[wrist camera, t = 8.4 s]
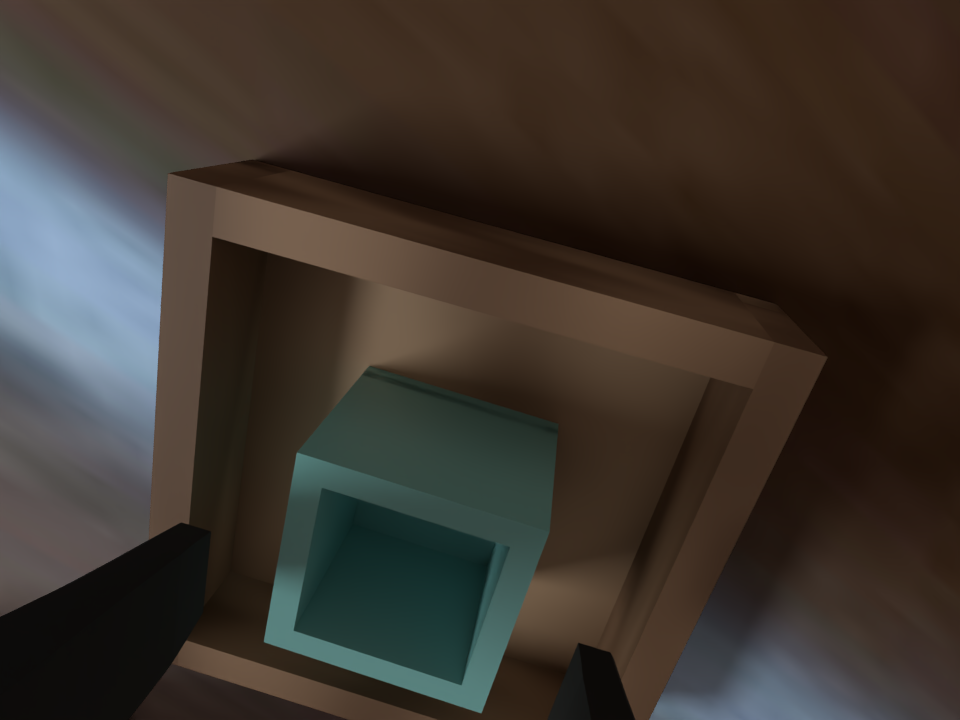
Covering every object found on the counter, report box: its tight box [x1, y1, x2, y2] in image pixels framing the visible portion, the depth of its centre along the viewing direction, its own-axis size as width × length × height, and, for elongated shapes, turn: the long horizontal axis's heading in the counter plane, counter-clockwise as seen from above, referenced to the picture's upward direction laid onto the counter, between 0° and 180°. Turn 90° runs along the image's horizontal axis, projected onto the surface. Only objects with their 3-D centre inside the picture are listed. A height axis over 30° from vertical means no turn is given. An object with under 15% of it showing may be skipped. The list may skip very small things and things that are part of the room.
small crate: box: [264, 366, 559, 713], centre depth 15 cm, size 5×5×4 cm
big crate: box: [149, 160, 827, 720], centre depth 16 cm, size 13×13×4 cm
